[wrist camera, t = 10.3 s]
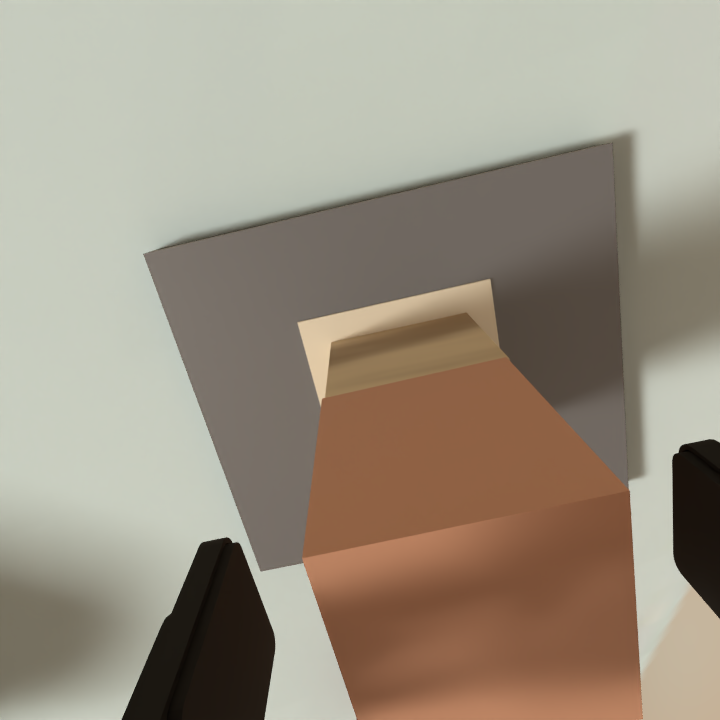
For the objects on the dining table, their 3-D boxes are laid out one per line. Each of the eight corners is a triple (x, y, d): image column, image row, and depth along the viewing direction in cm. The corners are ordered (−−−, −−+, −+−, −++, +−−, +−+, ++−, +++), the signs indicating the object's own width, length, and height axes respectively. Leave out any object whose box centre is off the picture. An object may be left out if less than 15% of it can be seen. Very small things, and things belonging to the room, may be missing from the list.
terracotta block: (321, 398, 13) (301, 559, 8) (506, 356, 13) (629, 490, 7) (363, 546, 15) (373, 767, 9) (528, 511, 15) (642, 719, 9)
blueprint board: (154, 250, 18) (142, 254, 17) (597, 145, 17) (614, 142, 16) (264, 555, 22) (260, 573, 21) (616, 484, 22) (630, 499, 20)
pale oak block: (331, 342, 18) (325, 398, 13) (466, 312, 18) (509, 358, 13) (361, 459, 20) (365, 545, 15) (485, 433, 19) (529, 513, 15)
